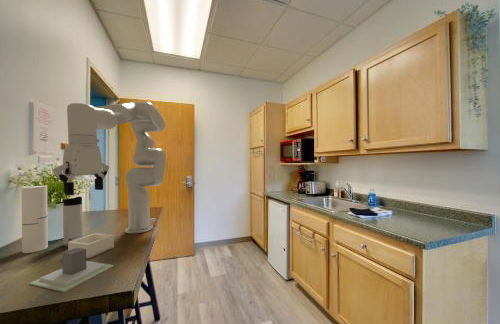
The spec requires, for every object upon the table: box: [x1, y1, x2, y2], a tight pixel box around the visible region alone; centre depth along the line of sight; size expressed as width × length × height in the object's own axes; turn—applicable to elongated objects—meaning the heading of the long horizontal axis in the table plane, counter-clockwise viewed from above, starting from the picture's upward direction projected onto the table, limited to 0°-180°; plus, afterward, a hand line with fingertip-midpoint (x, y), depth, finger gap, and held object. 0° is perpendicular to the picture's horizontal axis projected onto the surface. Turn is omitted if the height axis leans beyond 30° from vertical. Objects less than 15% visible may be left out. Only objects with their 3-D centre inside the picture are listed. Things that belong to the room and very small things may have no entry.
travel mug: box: [62, 196, 84, 247], centre depth 88 cm, size 6×7×20 cm
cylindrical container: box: [21, 185, 49, 254], centre depth 83 cm, size 7×7×25 cm
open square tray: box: [67, 232, 115, 260], centre depth 79 cm, size 10×10×5 cm
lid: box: [39, 248, 107, 287], centre depth 63 cm, size 11×11×7 cm
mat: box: [29, 260, 115, 293], centre depth 63 cm, size 14×14×1 cm
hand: (85, 192), depth 70 cm, fingers open, 9 cm apart
